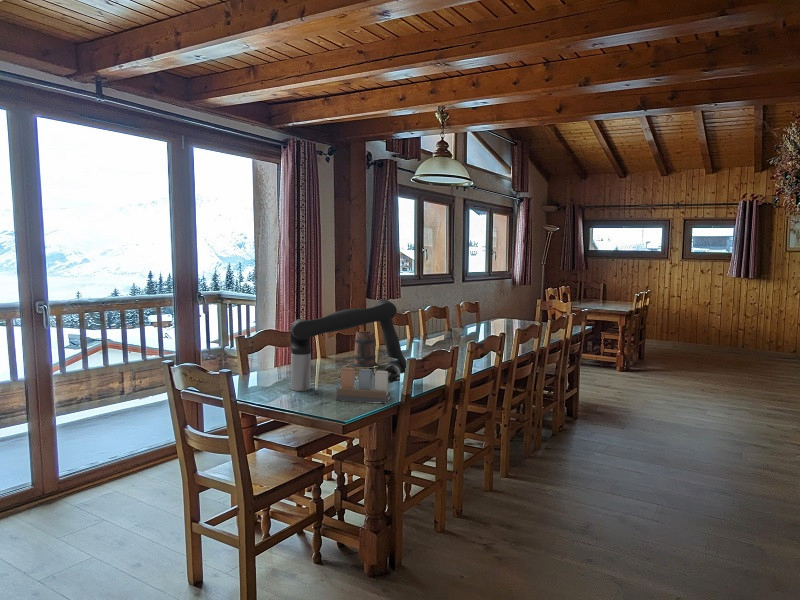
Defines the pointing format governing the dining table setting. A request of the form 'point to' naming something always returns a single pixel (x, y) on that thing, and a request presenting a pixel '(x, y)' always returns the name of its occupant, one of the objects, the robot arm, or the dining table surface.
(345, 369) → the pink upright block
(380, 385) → the cream key
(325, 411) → the dining table surface
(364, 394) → the key bed
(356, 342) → the tankard
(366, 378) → the blue-grey key
